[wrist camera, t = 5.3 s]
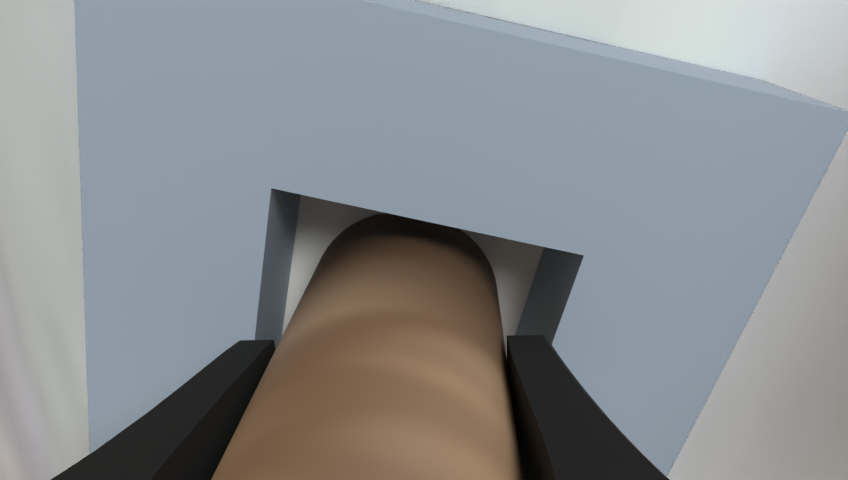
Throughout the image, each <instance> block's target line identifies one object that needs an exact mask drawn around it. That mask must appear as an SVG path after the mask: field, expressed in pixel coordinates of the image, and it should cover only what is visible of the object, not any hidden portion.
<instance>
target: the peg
mask: <svg viewBox="0 0 848 480" xmlns="http://www.w3.org/2000/svg"><path fill="white" fill-rule="evenodd" d="M211 480H523V474H522V466H521V459H520V452H519V444H518V437H517V430H516V423H515V415H514V408H513V402H512V395H511V388H510V381H509V373H508V366H507V357H506V350H505V342H504V335H503V328H502V320H501V313H500V306H499V299H498V291H497V285H496V280H495V275H494V273H493V270H492V267H491V265H490V263H489V261H488V259H487V257H486V255H485V254H484V252H483V251H482V250H481V248H480V247H479V246H478V244H477V243H476V242H475V241H474V240H473V239H472V238H471V237H470V236H468V235H467V234H466V233H465V232H463V231H462V230H461V229H459V228H454V227H449V226H445V225H440V224H435V223H431V222H426V221H421V220H417V219H412V218H407V217H403V216H398V215H393V214H389V213H381V214H376V215H373V216H370V217H367V218H364V219H362V220H360V221H358V222H356V223H354V224H352V225H351V226H349V227H348V228H346V229H345V230H344V231H342V232H341V233H340V234H339V235H338V236H337V237H336V238H335V239H334V240H333V241H332V242H331V244H330V245H329V246H328V247H327V249H326V250H325V252H324V254H323V255H322V257H321V259H320V261H319V263H318V265H317V267H316V269H315V271H314V273H313V275H312V277H311V279H310V281H309V283H308V285H307V287H306V289H305V291H304V293H303V295H302V297H301V299H300V302H299V304H298V306H297V308H296V310H295V312H294V314H293V316H292V318H291V320H290V322H289V324H288V326H287V328H286V330H285V332H284V334H283V336H282V338H281V340H280V342H279V344H278V346H277V348H276V350H275V352H274V354H273V356H272V358H271V360H270V362H269V364H268V366H267V368H266V370H265V372H264V374H263V376H262V378H261V380H260V382H259V384H258V386H257V388H256V390H255V392H254V394H253V396H252V398H251V400H250V402H249V404H248V406H247V408H246V410H245V412H244V414H243V416H242V418H241V420H240V422H239V424H238V426H237V428H236V430H235V432H234V435H233V437H232V439H231V441H230V443H229V445H228V447H227V449H226V451H225V453H224V455H223V457H222V459H221V461H220V463H219V465H218V467H217V469H216V471H215V473H214V475H213V477H212V479H211Z"/></svg>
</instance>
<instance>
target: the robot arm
mask: <svg viewBox="0 0 848 480" xmlns="http://www.w3.org/2000/svg"><path fill="white" fill-rule="evenodd" d="M275 350H276V349H275V343H274V340H240V341H238V342H237V343H236V344H234V345H233V346H231V347H230V348H229V349H227V350H226V351H225V352H223V353H222V354H221V355H219V356H218V357H217V358H216V359H214V360H213V361H212V362H211V363H209V364H208V365H207V366H206V367H204V368H203V369H202V370H201V371H199V372H198V373H197V374H196V375H195V376H193V377H192V378H191V379H190V380H188V381H187V382H186V383H184V384H183V385H182V386H181V387H179V388H178V389H177V390H176V391H174V392H173V393H172V394H171V395H169V396H168V397H167V398H165V399H164V400H163V401H162V402H160V403H159V404H158V405H157V406H155V407H154V408H153V409H151V410H150V411H149V412H147V413H146V414H145V415H143V416H142V417H141V418H139V419H138V420H136V421H135V422H134V423H132V424H131V425H130V426H128V427H127V428H125V429H124V430H123V431H121V432H120V433H119V434H117V435H116V436H114V437H113V438H112V439H110V440H109V441H108V442H106V443H105V444H103V445H102V446H101V447H99V448H98V449H97V450H95V451H94V452H92V453H91V454H89V455H88V456H86V457H85V458H83V459H82V460H80V461H79V462H77V463H76V464H74V465H73V466H71V467H70V468H68V469H67V470H65V471H64V472H62V473H61V474H59V475H57V476H56V477H54V478H53V479H51V480H211V479H212V477H213V475H214V473H215V471H216V469H217V467H218V465H219V463H220V461H221V459H222V457H223V455H224V453H225V451H226V449H227V447H228V445H229V443H230V441H231V439H232V437H233V435H234V432H235V430H236V428H237V426H238V424H239V422H240V420H241V418H242V416H243V414H244V412H245V410H246V408H247V406H248V404H249V402H250V400H251V398H252V396H253V394H254V392H255V390H256V388H257V386H258V384H259V382H260V380H261V378H262V376H263V374H264V372H265V370H266V368H267V366H268V364H269V362H270V360H271V358H272V356H273V354H274V352H275ZM507 366H508V373H509V381H510V388H511V395H512V402H513V408H514V415H515V423H516V430H517V437H518V444H519V452H520V459H521V466H522V474H523V480H669V479H668V478H667V477H666V476H665V475H664V474H663V473H662V472H661V471H660V470H658V469H657V468H656V467H655V466H654V465H653V464H652V463H651V462H650V461H649V460H648V459H647V458H646V457H645V456H644V455H643V454H642V453H641V452H640V451H639V450H638V449H637V448H636V447H635V446H634V444H633V443H632V442H631V441H630V440H629V439H628V438H627V437H626V436H625V435H624V434H623V433H622V432H621V431H620V430H619V429H618V428H617V426H616V425H615V424H614V423H613V422H612V421H611V420H610V419H609V418H608V416H607V415H606V414H605V413H604V412H603V411H602V409H601V408H600V407H599V406H598V405H597V404H596V402H595V401H594V400H593V399H592V398H591V396H590V395H589V394H588V393H587V392H586V390H585V389H584V388H583V387H582V385H581V384H580V383H579V382H578V380H577V379H576V378H575V376H574V375H573V374H572V373H571V371H570V370H569V369H568V367H567V366H566V364H565V363H564V362H563V360H562V359H561V358H560V356H559V355H558V353H557V352H556V350H555V349H554V347H553V346H552V344H551V343H550V341H549V340H548V339H547V338H546V337H545V336H544V335H512V336H507Z"/></svg>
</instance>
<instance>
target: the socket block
mask: <svg viewBox="0 0 848 480" xmlns="http://www.w3.org/2000/svg"><path fill="white" fill-rule="evenodd" d="M74 1H75V31H76V61H77V91H78V120H79V150H80V180H81V210H82V239H83V269H84V299H85V329H86V358H87V388H88V418H89V448H90V454H91V453H92V452H94V451H95V450H97V449H98V448H99V447H101V446H102V445H103V444H105V443H106V442H108V441H109V440H110V439H112V438H113V437H114V436H116V435H117V434H119V433H120V432H121V431H123V430H124V429H125V428H127V427H128V426H130V425H131V424H132V423H134V422H135V421H136V420H138V419H139V418H141V417H142V416H143V415H145V414H146V413H147V412H149V411H150V410H151V409H153V408H154V407H155V406H157V405H158V404H159V403H160V402H162V401H163V400H164V399H165V398H167V397H168V396H169V395H171V394H172V393H173V392H174V391H176V390H177V389H178V388H179V387H181V386H182V385H183V384H184V383H186V382H187V381H188V380H190V379H191V378H192V377H193V376H195V375H196V374H197V373H198V372H199V371H201V370H202V369H203V368H204V367H206V366H207V365H208V364H209V363H211V362H212V361H213V360H214V359H216V358H217V357H218V356H219V355H221V354H222V353H223V352H225V351H226V350H227V349H229V348H230V347H231V346H233V345H234V344H236V343H237V342H238V341H240V340H274V343H275V349H276V348H277V346H278V344H279V342H280V340H281V338H282V336H283V334H284V332H285V330H286V328H287V326H288V324H289V322H290V320H291V318H292V316H293V314H294V312H295V310H296V308H297V306H298V304H299V302H300V299H301V297H302V295H303V293H304V291H305V289H306V287H307V285H308V283H309V281H310V279H311V277H312V275H313V273H314V271H315V269H316V267H317V265H318V263H319V261H320V259H321V257H322V255H323V254H324V252H325V250H326V249H327V247H328V246H329V245H330V244H331V242H332V241H333V240H334V239H335V238H336V237H337V236H338V235H339V234H340V233H341V232H342V231H344V230H345V229H346V228H348V227H349V226H351V225H352V224H354V223H356V222H358V221H360V220H362V219H364V218H367V217H370V216H373V215H376V214H381V213H389V214H393V215H398V216H403V217H407V218H412V219H417V220H421V221H426V222H431V223H435V224H440V225H445V226H449V227H454V228H459V229H461V230H462V231H463V232H465V233H466V234H467V235H468V236H470V237H471V238H472V239H473V240H474V241H475V242H476V243H477V244H478V246H479V247H480V248H481V250H482V251H483V252H484V254H485V255H486V257H487V259H488V261H489V263H490V265H491V267H492V270H493V273H494V275H495V280H496V285H497V291H498V299H499V306H500V313H501V320H502V328H503V335H504V342H505V350H506V357H507V336H512V335H544V336H545V337H546V338H547V339H548V340H549V341H550V343H551V344H552V346H553V347H554V349H555V350H556V352H557V353H558V355H559V356H560V358H561V359H562V360H563V362H564V363H565V364H566V366H567V367H568V369H569V370H570V371H571V373H572V374H573V375H574V376H575V378H576V379H577V380H578V382H579V383H580V384H581V385H582V387H583V388H584V389H585V390H586V392H587V393H588V394H589V395H590V396H591V398H592V399H593V400H594V401H595V402H596V404H597V405H598V406H599V407H600V408H601V409H602V411H603V412H604V413H605V414H606V415H607V416H608V418H609V419H610V420H611V421H612V422H613V423H614V424H615V425H616V426H617V428H618V429H619V430H620V431H621V432H622V433H623V434H624V435H625V436H626V437H627V438H628V439H629V440H630V441H631V442H632V443H633V444H634V446H635V447H636V448H637V449H638V450H639V451H640V452H641V453H642V454H643V455H644V456H645V457H646V458H647V459H648V460H649V461H650V462H651V463H652V464H653V465H654V466H655V467H656V468H657V469H658V470H660V471H661V472H662V473H663V474H664V475H665V476H666V477H667V475H668V473H669V472H670V470H671V468H672V466H673V464H674V462H675V460H676V458H677V456H678V454H679V452H680V450H681V449H682V447H683V445H684V443H685V441H686V439H687V437H688V435H689V433H690V431H691V429H692V427H693V426H694V424H695V422H696V420H697V418H698V416H699V414H700V412H701V410H702V408H703V406H704V404H705V403H706V401H707V399H708V397H709V395H710V393H711V391H712V389H713V387H714V385H715V383H716V381H717V380H718V378H719V376H720V374H721V372H722V370H723V368H724V366H725V364H726V362H727V360H728V358H729V356H730V355H731V353H732V351H733V349H734V347H735V345H736V343H737V341H738V339H739V337H740V335H741V333H742V332H743V330H744V328H745V326H746V324H747V322H748V320H749V318H750V316H751V314H752V312H753V310H754V309H755V307H756V305H757V303H758V301H759V299H760V297H761V295H762V293H763V291H764V289H765V287H766V286H767V284H768V282H769V280H770V278H771V276H772V274H773V272H774V270H775V268H776V266H777V264H778V263H779V261H780V259H781V257H782V255H783V253H784V251H785V249H786V247H787V245H788V243H789V241H790V240H791V238H792V236H793V234H794V232H795V230H796V228H797V226H798V224H799V222H800V220H801V218H802V217H803V215H804V213H805V211H806V209H807V207H808V205H809V203H810V201H811V199H812V197H813V195H814V193H815V192H816V190H817V188H818V186H819V184H820V182H821V180H822V178H823V176H824V174H825V172H826V170H827V169H828V167H829V165H830V163H831V161H832V159H833V157H834V155H835V153H836V151H837V149H838V147H839V146H840V144H841V142H842V140H843V138H844V136H845V134H846V132H847V130H848V111H846V110H843V109H841V108H838V107H835V106H832V105H830V104H827V103H824V102H821V101H818V100H816V99H813V98H810V97H807V96H805V95H802V94H799V93H796V92H794V91H791V90H788V89H785V88H783V87H780V86H777V85H774V84H772V83H769V82H766V81H763V80H759V79H754V78H750V77H746V76H741V75H737V74H733V73H728V72H724V71H720V70H715V69H711V68H707V67H702V66H698V65H694V64H689V63H685V62H681V61H676V60H672V59H668V58H663V57H659V56H655V55H650V54H646V53H642V52H637V51H633V50H629V49H624V48H620V47H616V46H611V45H607V44H603V43H598V42H594V41H590V40H586V39H581V38H577V37H573V36H568V35H564V34H560V33H555V32H551V31H547V30H542V29H538V28H534V27H529V26H525V25H521V24H516V23H512V22H508V21H503V20H499V19H495V18H490V17H486V16H482V15H477V14H473V13H469V12H464V11H460V10H456V9H451V8H447V7H443V6H438V5H434V4H430V3H425V2H421V1H417V0H74Z"/></svg>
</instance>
